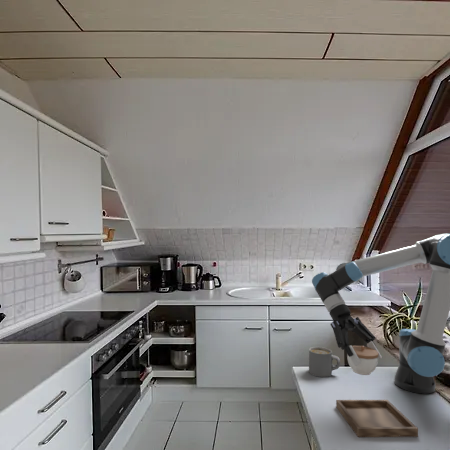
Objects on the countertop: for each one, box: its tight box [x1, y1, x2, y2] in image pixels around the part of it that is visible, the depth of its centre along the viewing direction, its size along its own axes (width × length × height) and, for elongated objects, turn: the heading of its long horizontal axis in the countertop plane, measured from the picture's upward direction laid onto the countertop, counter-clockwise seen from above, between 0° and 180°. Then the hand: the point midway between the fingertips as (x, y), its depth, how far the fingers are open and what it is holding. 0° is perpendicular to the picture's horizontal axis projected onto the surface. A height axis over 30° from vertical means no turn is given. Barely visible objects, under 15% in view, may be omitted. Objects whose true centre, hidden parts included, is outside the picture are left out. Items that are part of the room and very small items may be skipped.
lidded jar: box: [346, 345, 379, 376], centre depth 130 cm, size 11×11×9 cm
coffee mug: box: [308, 346, 341, 378], centre depth 160 cm, size 13×10×10 cm
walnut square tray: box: [335, 399, 419, 438], centre depth 120 cm, size 19×19×2 cm
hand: (369, 361), depth 127 cm, fingers closed on lidded jar, 11 cm apart
